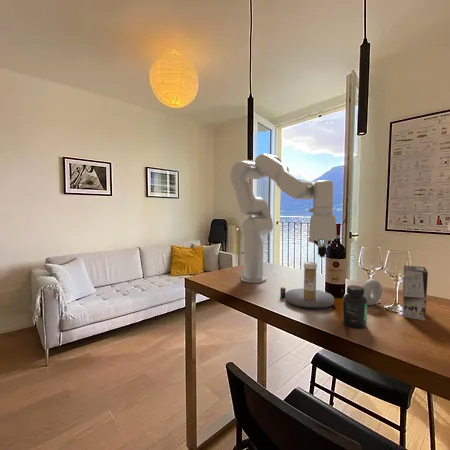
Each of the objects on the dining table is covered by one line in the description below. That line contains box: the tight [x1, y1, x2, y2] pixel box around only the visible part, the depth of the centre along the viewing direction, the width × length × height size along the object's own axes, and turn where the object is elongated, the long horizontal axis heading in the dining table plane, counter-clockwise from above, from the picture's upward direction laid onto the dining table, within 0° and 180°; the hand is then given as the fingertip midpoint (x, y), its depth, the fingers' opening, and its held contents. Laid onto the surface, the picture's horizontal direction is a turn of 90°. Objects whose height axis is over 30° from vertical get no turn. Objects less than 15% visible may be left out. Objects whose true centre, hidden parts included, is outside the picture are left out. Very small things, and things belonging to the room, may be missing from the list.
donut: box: [361, 278, 383, 306], centre depth 103 cm, size 10×4×10 cm, turn 117°
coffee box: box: [401, 265, 429, 321], centre depth 94 cm, size 9×6×16 cm
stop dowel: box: [279, 287, 287, 300], centre depth 112 cm, size 2×2×4 cm
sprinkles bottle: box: [303, 261, 318, 300], centre depth 103 cm, size 5×5×14 cm
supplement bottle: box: [342, 284, 368, 330], centre depth 87 cm, size 7×7×12 cm
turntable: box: [284, 288, 335, 309], centre depth 107 cm, size 20×18×6 cm
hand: (322, 256), depth 112 cm, fingers closed
